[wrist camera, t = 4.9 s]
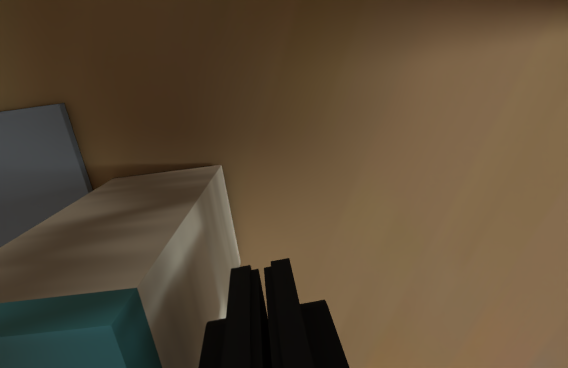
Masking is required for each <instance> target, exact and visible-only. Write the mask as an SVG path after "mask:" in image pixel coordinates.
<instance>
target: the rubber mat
mask: <svg viewBox="0 0 568 368" xmlns="http://www.w3.org/2000/svg"><path fill="white" fill-rule="evenodd" d="M92 191H93V190H92V187H91V184H90V181H89V178H88V175H87V172H86V168H85V165H84V162H83V159H82V156H81V153H80V150H79V147H78V144H77V141H76V138H75V135H74V132H73V129H72V126H71V123H70V120H69V117H68V114H67V111H66V108H65V105H64V103H62V104H54V105H47V106H40V107H32V108H25V109H18V110H11V111H3V112H0V247H2V246H4V245H5V244H7V243H8V242H10V241H12V240H13V239H15V238H17V237H18V236H20V235H22V234H23V233H25V232H26V231H28V230H30V229H31V228H33V227H35V226H36V225H38V224H39V223H41V222H43V221H44V220H46V219H48V218H49V217H51V216H53V215H54V214H56V213H57V212H59V211H61V210H62V209H64V208H66V207H67V206H69V205H71V204H72V203H74V202H75V201H77V200H79V199H80V198H82V197H84V196H85V195H87V194H89V193H90V192H92Z"/></svg>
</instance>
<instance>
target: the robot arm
mask: <svg viewBox="0 0 568 368" xmlns="http://www.w3.org/2000/svg"><path fill="white" fill-rule="evenodd" d="M264 275H265V287H266V299H267V312H268V317H267V312H266V306H265V301H264V296H263V291H262V285H261V280H260V275H259V270H258V269H255V270H251V266H250V265H248V266H242V267H237V268H231V271H230V281H229V291H228V302H227V312H226V318H224V319H218V320H213V321H208V322H207V324H206V327H205V333H204V338H203V344H202V350H201V355H200V361H199V367H198V368H349V365H348V362H347V360H346V357H345V354H344V351H343V348H342V345H341V343H340V340H339V337H338V334H337V331H336V328H335V325H334V323H333V320H332V317H331V314H330V311H329V308H328V306H327V303H326V301H325V300H320V301H315V302H310V303H304V304H300V303H299V299H298V295H297V290H296V286H295V282H294V277H293V273H292V268H291V264H290V260H289V258H287V259H282V260H276V261H271V267H266V268H264Z"/></svg>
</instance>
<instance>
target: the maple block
mask: <svg viewBox="0 0 568 368" xmlns="http://www.w3.org/2000/svg"><path fill="white" fill-rule="evenodd" d="M237 267H240V257H239V251H238V246H237V241H236V236H235V231H234V226H233V221H232V216H231V211H230V205H229V200H228V195H227V190H226V185H225V180H224V175H223V170H222V165H216V166H208V167H200V168H193V169H185V170H177V171H169V172H161V173H153V174H145V175H137V176H129V177H122V178H114V179H111V180H110V181H108V182H107V183H105V184H103V185H102V186H100V187H98V188H97V189H95V190H93V191H92V192H90V193H89V194H87V195H85V196H84V197H82V198H80V199H79V200H77V201H75V202H74V203H72V204H71V205H69V206H67V207H66V208H64V209H62V210H61V211H59V212H57V213H56V214H54V215H53V216H51V217H49V218H48V219H46V220H44V221H43V222H41V223H39V224H38V225H36V226H35V227H33V228H31V229H30V230H28V231H26V232H25V233H23V234H22V235H20V236H18V237H17V238H15V239H13V240H12V241H10V242H8V243H7V244H5V245H4V246H2V247H0V368H198V367H199V361H200V355H201V350H202V344H203V338H204V333H205V327H206V324H207V322H208V321H213V320H218V319H224V318H226V312H227V302H228V291H229V281H230V271H231V268H237Z"/></svg>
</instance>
